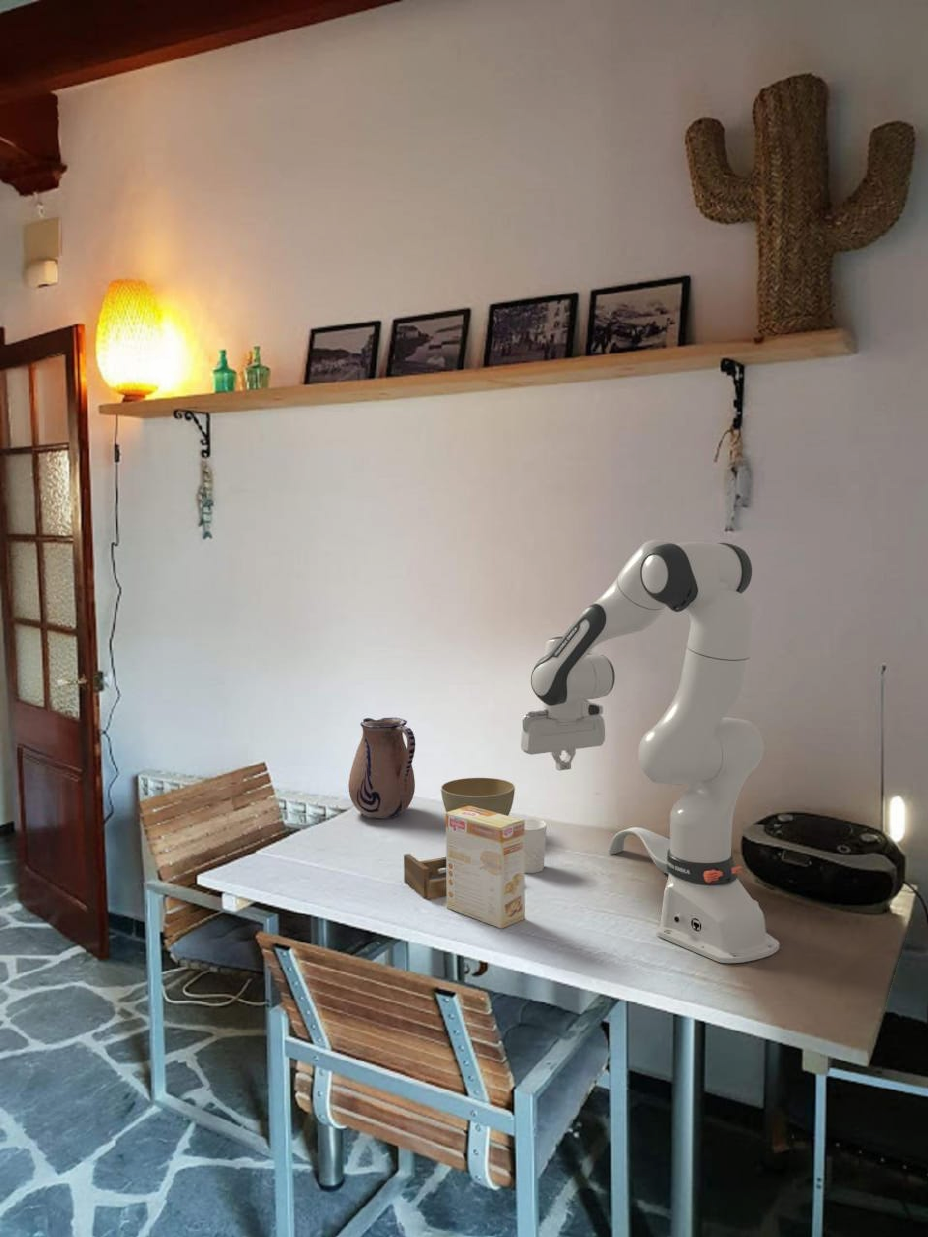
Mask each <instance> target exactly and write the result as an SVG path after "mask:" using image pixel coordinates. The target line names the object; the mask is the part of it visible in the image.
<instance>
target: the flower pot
mask: <svg viewBox="0 0 928 1237" xmlns="http://www.w3.org/2000/svg"><path fill="white" fill-rule="evenodd" d="M515 789H516V786H515V784H514V783H513V782H510V781H509V780H505V779H500V778H494V777H466V778H457V779H453V780H449V781H447V782H445V783H443V784H442V785H441V787H440V792H441V793H440V794H441V798H442V799H441V800H442V803H443V807H444V809H445V813H446V812H449V811H452V810H456V809H459V808H462V807H466V806H472V807H476V808H480V809H484V810H488V811H491V812H495V813H499V814H503V815H506V816H510V813H511V810H512V807H513V803H514V800H515V791H516V790H515Z"/></svg>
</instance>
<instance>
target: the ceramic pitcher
mask: <svg viewBox="0 0 928 1237" xmlns="http://www.w3.org/2000/svg"><path fill="white" fill-rule="evenodd" d="M407 723H408V721H407V720H406V719H403V718H400V717H383V718H381V719H374V718H371V717H368V718H363V719H362V722H360V724H359V725H360V726H361V728H362V735H361V736H362V737H361V739H360V742H359V744H358V746H357V749H356V753H355V756H354V758H353V761H352V765H351V768H350V772H349V778H348V786H347V787H348V795H349V799H350V800H351V802H352V805H353V806H354V807H355V809H356V810H357V811H358V812H359V813H361V814H362V815H364V816H365V817H367V818H369V819H375V818H376V819H377V818H379V819H385V820H386V819H391V818H394V817H398V816H399V815H401V814H402V813H404V812H405V811H406V810H407V809H408V808H409V806H410V804H411V803H412V801H413V798H414V794H415V792H416V791H415V789H416V784H415V783H416V782H415V773H414V769H413V768H414V767H413V765H412V763H413V759H414V757H415V751H416V736H415V734H414V731H412V729H411V728H410V727H409V726H408V727H407V726H406V725H407ZM404 735H405V737H406V743H405V740H404ZM406 744H407V745H406Z"/></svg>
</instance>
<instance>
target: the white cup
mask: <svg viewBox="0 0 928 1237" xmlns="http://www.w3.org/2000/svg"><path fill="white" fill-rule="evenodd" d="M521 819H522V820H525V821H524V849H525V874H537V873H541V872H542V871H543V870H544V868H545V858H546V844H547V826H548V825H547V823H546V822H545V821H543V820H541V819H535V818H521Z"/></svg>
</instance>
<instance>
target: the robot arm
mask: <svg viewBox="0 0 928 1237" xmlns="http://www.w3.org/2000/svg"><path fill="white" fill-rule="evenodd" d="M752 576H753V565H752V562H751V559H750V557H749V555H748V553H747V552H746V551H745V550H744V549H743V548H742V547H739V546H737V545H735V544H731V543H727V542H717V543H715V542H704V541H703V542H701V541H698V540H697V541H685V542H678V543H677V542H676V543H671V542H670V541H668V540H664V539H656V538H655V539H651V540H648V541H645V542H644V543H643V544H641V545H640V547H639V548H638V549H637V550H636V551H635V552H634V553H633V554H632V556H631V557H630V558H629V560H628V561H626V563H625V565H624V566H623V567H622V569H621V570H620V572H619V574H618V575H617V577H616V579H615V580H614V581H613V583H612V584H611V585H610V587H608V588H607V590H606V591H605V592H604V593H603V594H602V595H601V596H600V597H599V598H598V599H597V600H596V601H595V602H593V603H592V604H591V605H589V606H587V608H586V609H584V610H583V611H582V613H580V615H579V616H578V617H577V618H576V619H575V621H574V622H573V623H572V624H571V625H570V626H569V628H568V629H567V631H566V632H565V633H564V634H563V635H562V636H555V637H552V638H549V639H548V640H547V641H546V644H545V649H544V653H543V655H544V656H543V657H541V658H540V659H538V661H537V662H536V664H535V666H534V667H533V670H532V672H531V675H530V676H531V677H530V684H531V689H532V691H533V693H534V695H535V696H536V697H537V698H538V699H539V700H540V701H541V702H542V703H543V710H537V711H533V710H531V711H528V713H527V714H525V715H524V717H523V718H522V732H521V738H520V749H521V750H522V751H523V753H525V754H528V755H531V756H532V755H538V754H546V753H551V754H550V755H551V756H552V758H553V760H554V761H555V769H556V770H557V771H560V772H561V771H566V770H572V762H573V759H574V758H575V756H576V753H577V752H576V751H577V750H579V749H586V748H587V749H588V748H593V747H601V746H603V745H604V743H605V741H606V726H605V724H606V723H605V720H604V718H603V716H602V715H603V713H604V706H602V705H601V704H599V703H596V702H592V701H590V700H596V699H601V698H603V697H607V696H608V695H609V694H610V693H611V692H612V690H613V688H614V684H615V669H614V666H613V664H612V662H611V661H610V660H609V659H608V657H606V656H605V655H603V654H598V653H597V652H595V651H593V650H592V649H594V648H595V647H596V646H598V645H600V644H602V643H604V642H606V641H608V640H611V639H614V638H618V637H622V636H625V635H629V634H634V633H637V632H641V631H642V630H645V629H647V628H648V627H650V626H651V625H652V624H653V623H655V621H656V620H657V619H658V618H659V617H660V616H661V615H662V613H663V612H664V610H665V609H666V607H667V608H668V609H669V610H671V611H673V612H675V613H680V612H682V611H685V610H686V612H687V614H688V616H689V619H690V624H689V625H690V627H689V634H688V636H687V637H688V638H687V639H688V640H687V644H686V650H685V654H684V662H683V666H682V671H681V676H680V681H679V685H678V688H677V690H676V693H675V696H674V697H673V698H672V700H671V702H670V703H669V704H670V705H669V707H668V708H667V709H666V711H665V713H664V714H663V716H662V717H661V718H660V719H659V721H658V722H657V723H656V724H655V725H654V726H653V727H652V728H651V729H650V730H648V731H647V732H646V733H645V734H643V736H642V738H641V739H640V742H639V745H638V751H637V759H638V763H639V766H640V768H641V771H642V772H643V774H644V775H645V776H646V777H647V779H649V781H650V782H653V783H655V784H661V785H671V786H672V785H673V786H681V785H686V784H687V785H688V786H687V789H686V791H685V792H684V794H683V795H682V796H681V797H680V798H679V799H678V800H677V801H676V802H675V803H674V804H673V806H672V808H671V811H670V815H669V840H670V849H669V850H668V852H667V860H666V861H667V871H668V872H669V875H668V878H667V882H666V885H665V888H664V893H663V901H662V910H661V918H660V920H659V926H658V928H657V929H656V936H658V937H659V938H660V939H663V940H666V941H668V942H670V943H674V944H675V945H678V946H680V947H683V948H684V949H687V950H690V951H692V952H694V953H695V954H696V953H697V954H699V955H701V956H703V957H705V958H708V959H711V960H713V961H715V962H718V963H721V964H739V963H746V962H747V963H748V962H751V961H752V962H753V961H757V960H760V959H763V958H767V957H770V956H772V955H774V954H776V953H777V952H778V951H779V950H780V942H779V940H777V939H776V938H774V937H773V936H771V935H770V934H769V933H767V931H766V930H767V929H766V920H765V915H764V912H763V911H762V909H761V908H760V906H759V902H758V901H757V900H755V899H753V898H752V897H751V895H750V894H749V892H748V891H747V890H746V888H745V887H744V886H743V884H742V883H741V882H740V880H739V874H738V873H742V872H743V871H742V870H740V869H742V867H743V866H742V865H739V866H736V862H735V860H734V855H733V854H732V831H733V817H734V814H735V812H734V811H735V808H736V804H737V802H738V799H739V795H740V793H741V790H742V788H743V786H744V784H745V782H746V780H747V779H748V777H749V775H750V774H751V773H752V772H753V770H755V769H756V767H757V766H758V765H759V764H760V763H761V761H762V759H763V756H764V751H765V750H764V749H765V746H764V740H763V737H762V734H761V732H760V730H759V729H758V728H757V726H756V725H755V724H753V723H752V722H751V721H750V720H748V719H747V720H746V719H741V718H736V717H735V718H734V717H725V716H726V715H727V713H728V712H729V711H730V710H732V709H733V708H734V707H735V706H736V705H737V704H738V703H739V702H740V701H741V699H742V698H743V695H744V692H745V687H746V681H747V676H748V671H749V666H750V665H749V664H750V659H751V653H752V652H751V651H752V645H753V638H754V609H753V604H752V602H751V600H750V599H749V598H748V597H747V596H745V594H743V593H744V592H745V591H746V590H747V589H748V587H750V586H749V585H750V584H751V580H752V578H753V577H752ZM563 751H565V753H566V755H565V757H564V760H562V758H561V757H560V756H562V755H563V754H562V752H563Z"/></svg>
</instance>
